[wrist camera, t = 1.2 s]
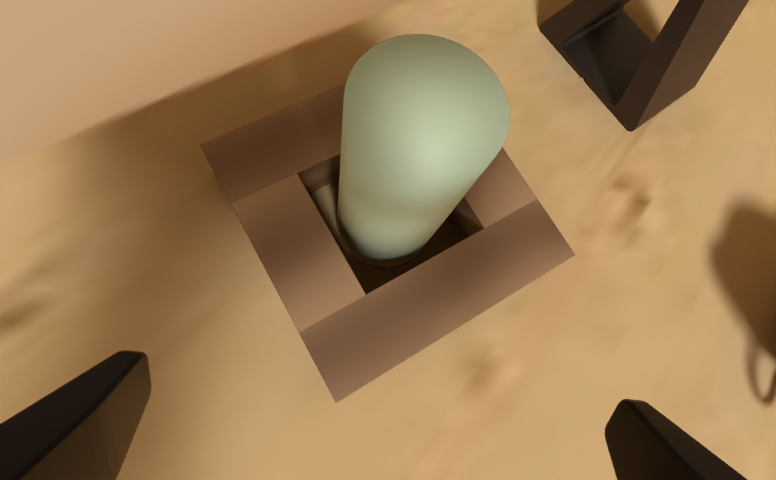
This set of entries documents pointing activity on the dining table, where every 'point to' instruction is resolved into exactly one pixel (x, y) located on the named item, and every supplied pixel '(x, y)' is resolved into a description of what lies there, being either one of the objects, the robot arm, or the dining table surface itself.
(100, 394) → the robot arm
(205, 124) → the dining table surface
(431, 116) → the peg
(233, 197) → the pocket block
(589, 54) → the phone stand
